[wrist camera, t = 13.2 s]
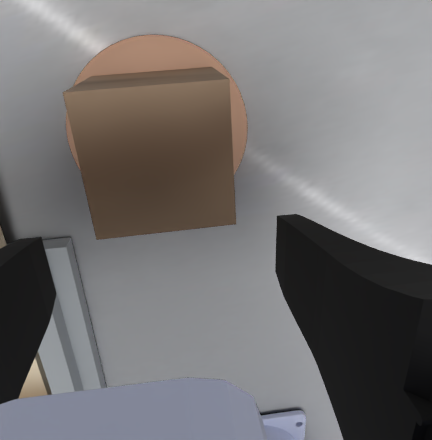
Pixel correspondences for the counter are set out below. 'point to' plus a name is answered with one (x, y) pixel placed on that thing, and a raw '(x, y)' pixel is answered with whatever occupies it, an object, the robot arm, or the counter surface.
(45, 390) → the multicoloured piece
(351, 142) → the counter surface
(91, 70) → the coaster
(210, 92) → the walnut block
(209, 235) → the counter surface
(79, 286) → the lane board
